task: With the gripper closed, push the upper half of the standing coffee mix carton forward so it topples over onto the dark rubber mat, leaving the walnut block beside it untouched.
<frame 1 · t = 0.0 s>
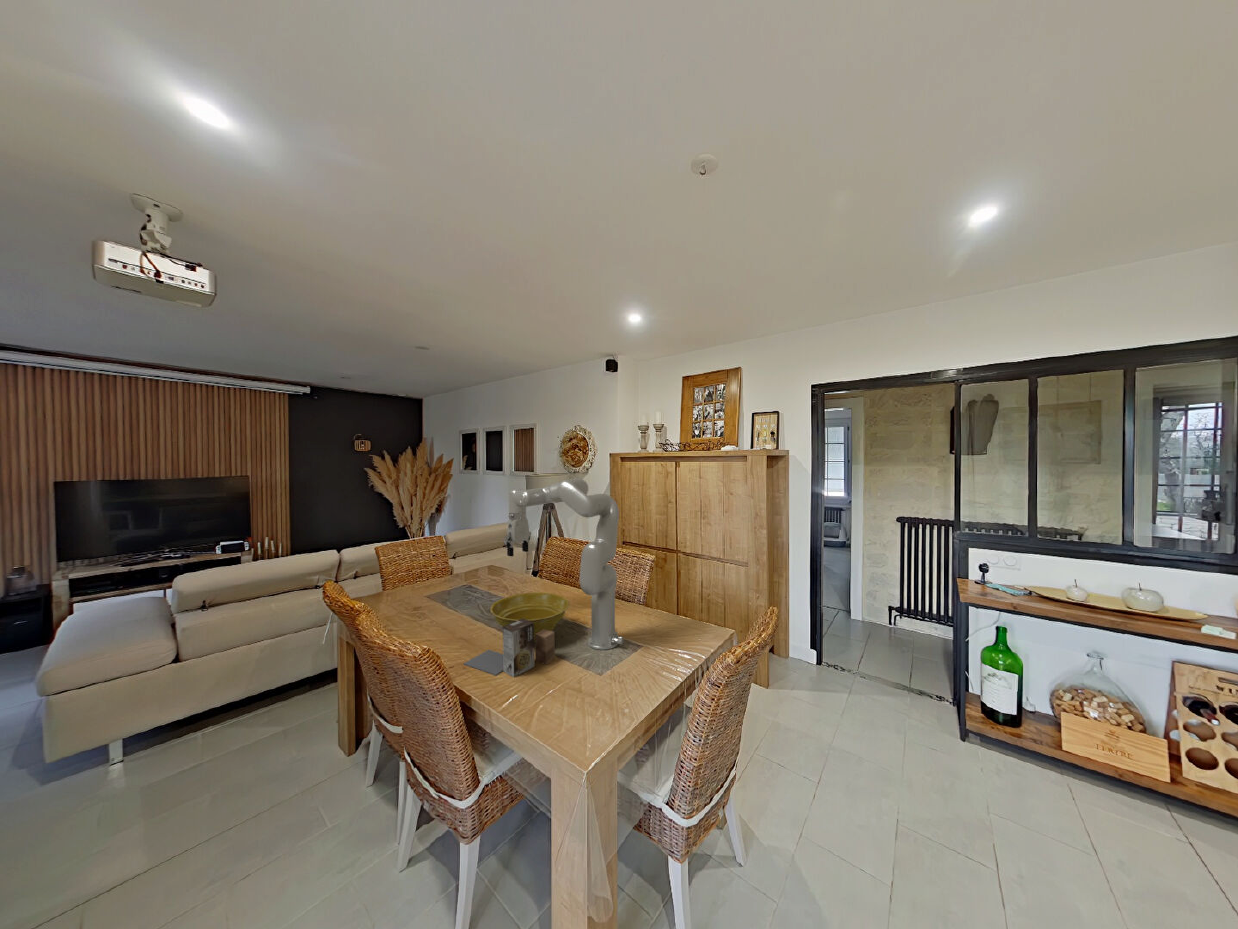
hand: (518, 553, 184), 31 cm above the table, fingers open, 9 cm apart
mat: (492, 662, 147), on the table
planter bowl: (530, 636, 169), on the table
walnut block: (545, 660, 149), on the table
coffee box: (518, 669, 143), on the table
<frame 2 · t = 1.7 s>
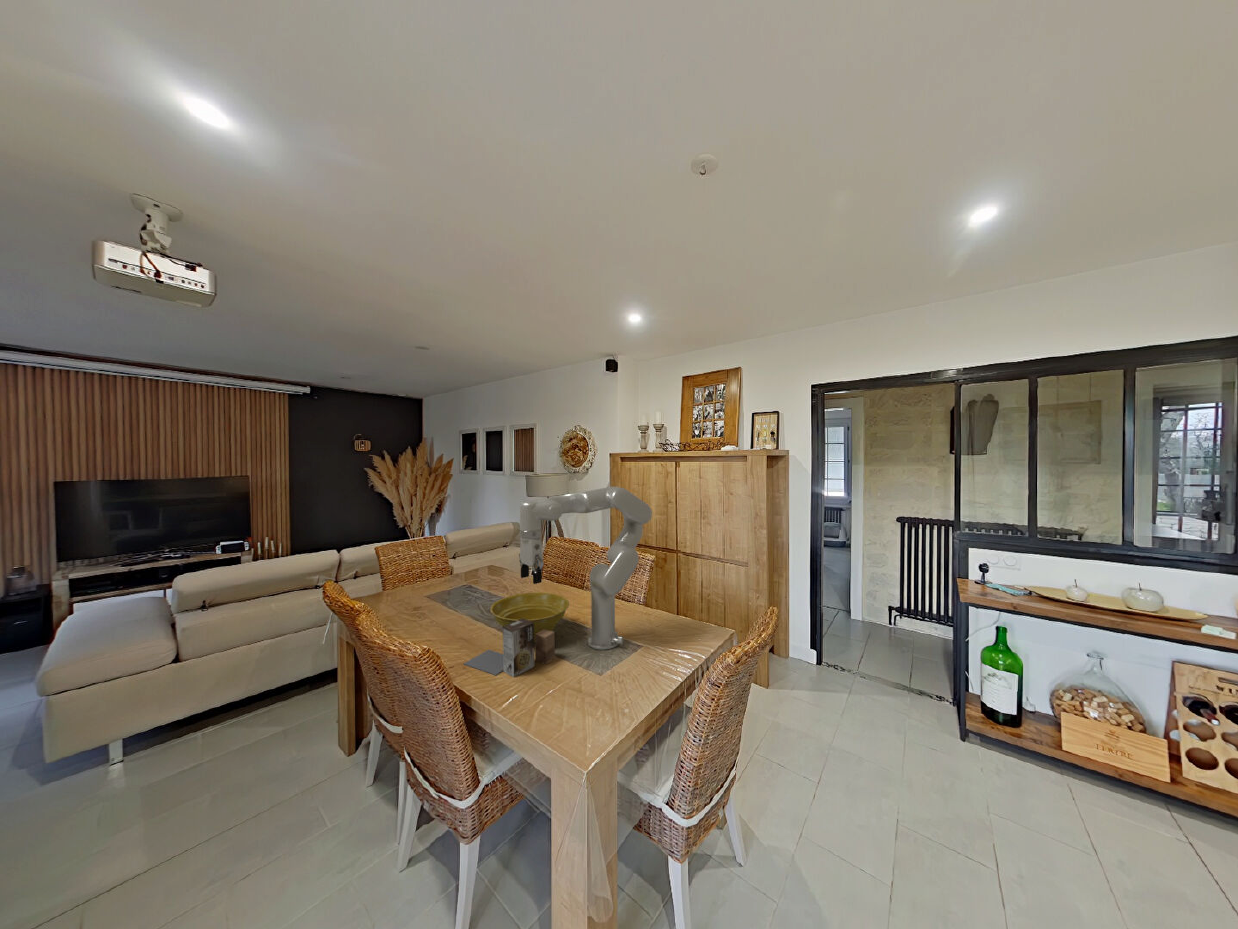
hand: (530, 580, 151), 29 cm above the table, fingers open, 9 cm apart
nothing on the table moved.
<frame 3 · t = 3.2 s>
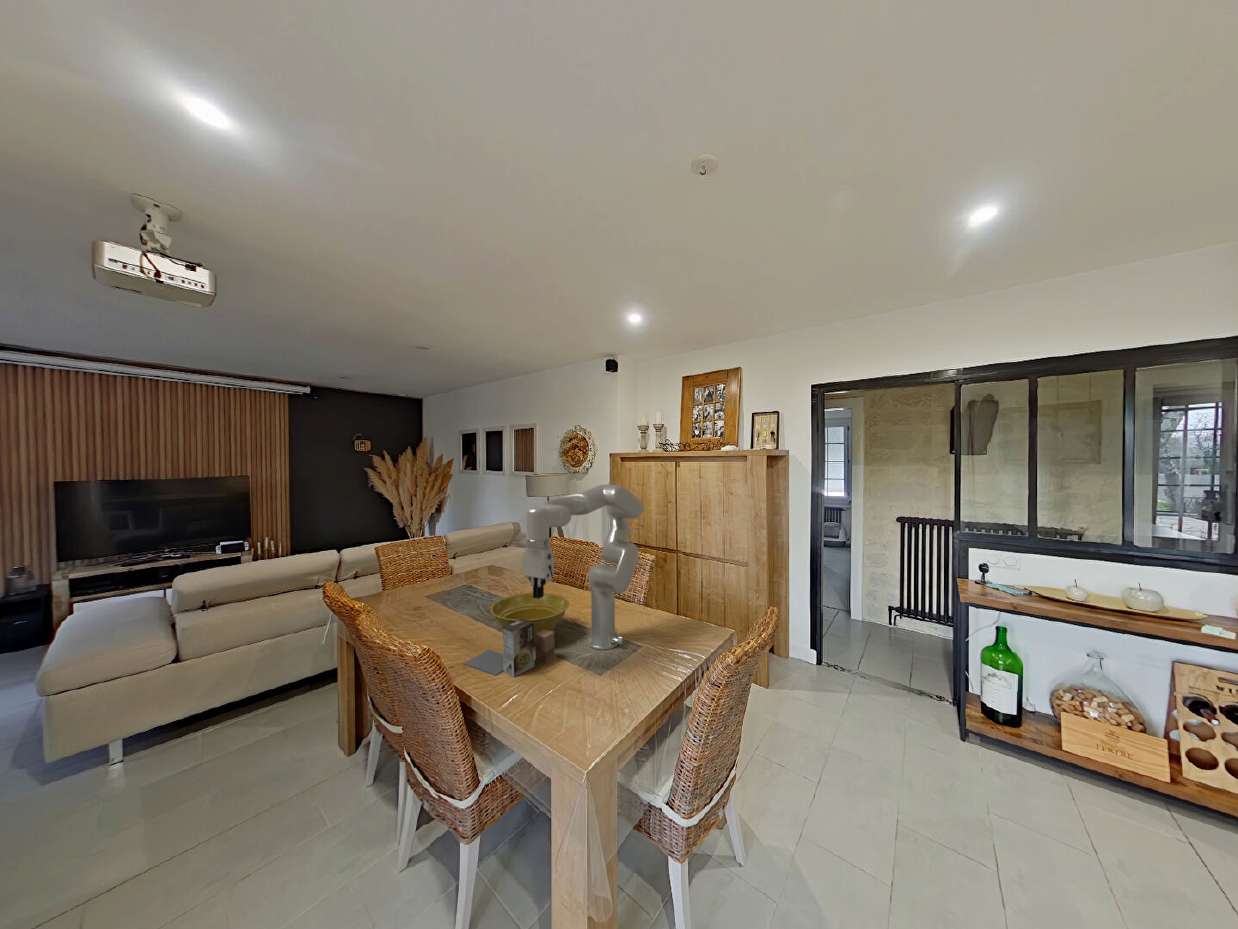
hand: (538, 597, 138), 27 cm above the table, fingers closed
nothing on the table moved.
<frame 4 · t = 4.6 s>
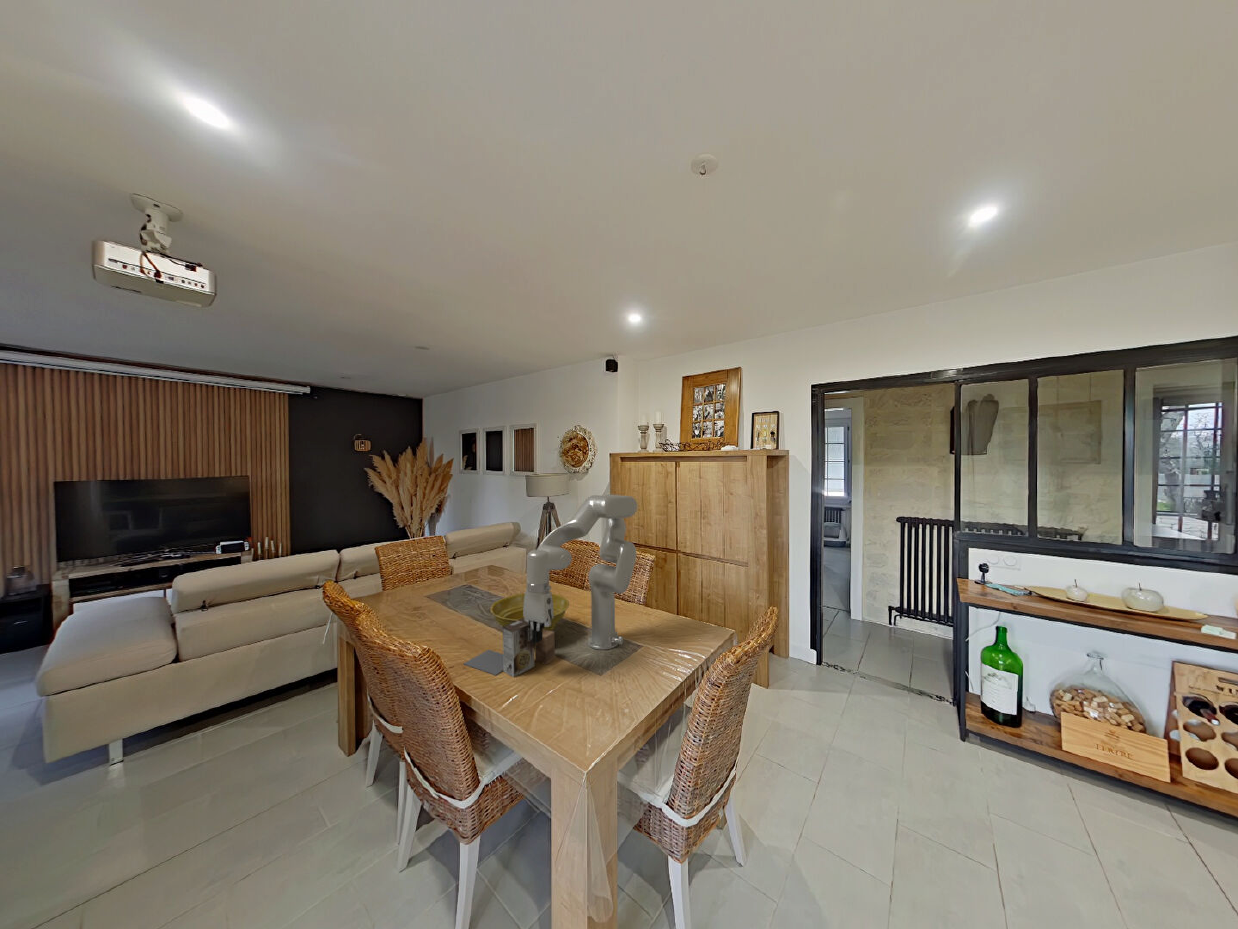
hand: (537, 640, 138), 12 cm above the table, fingers closed
nothing on the table moved.
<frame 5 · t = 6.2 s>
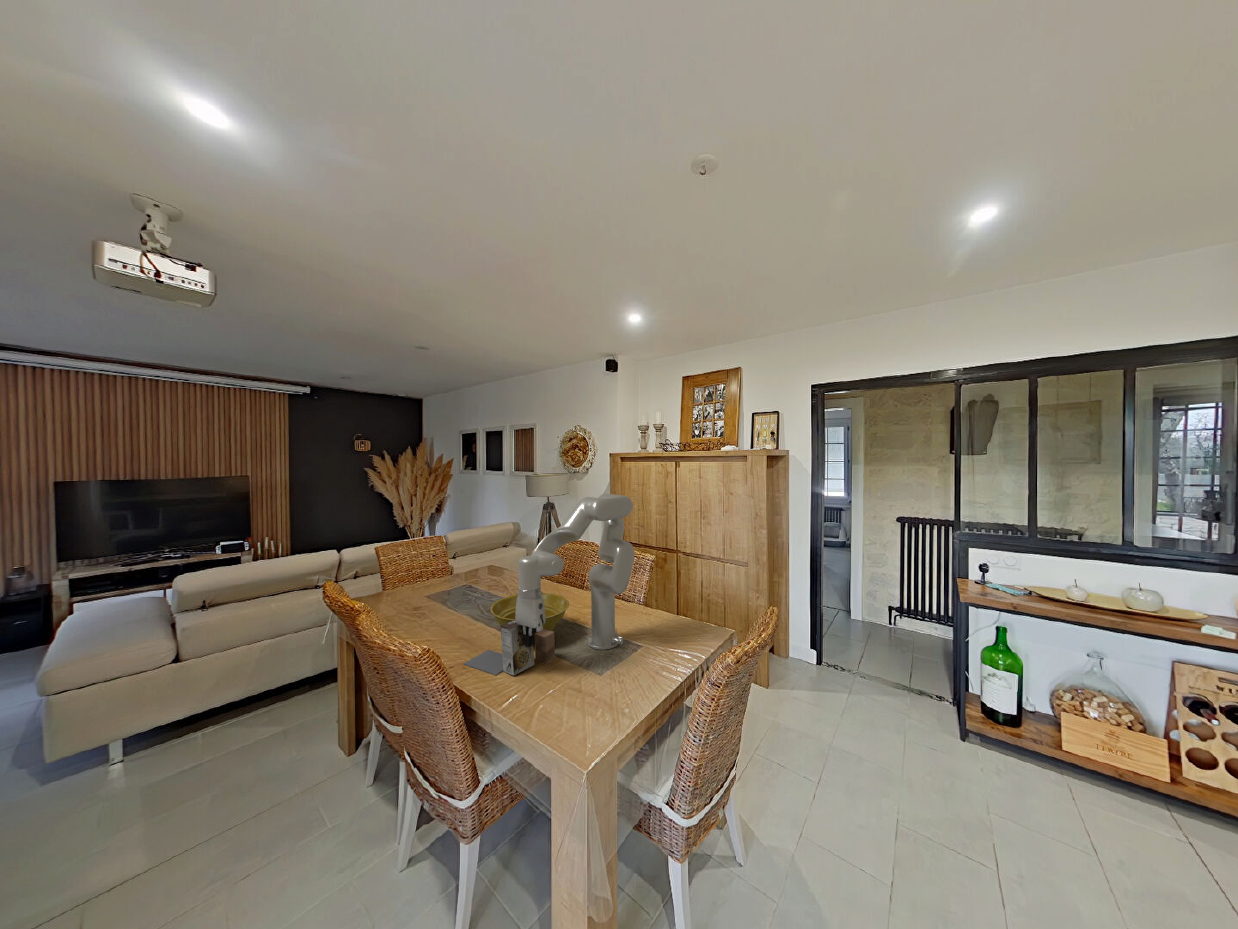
hand: (529, 645, 140), 10 cm above the table, fingers closed
coffee box: (518, 669, 143), on the table, touching gripper
everything else where it was.
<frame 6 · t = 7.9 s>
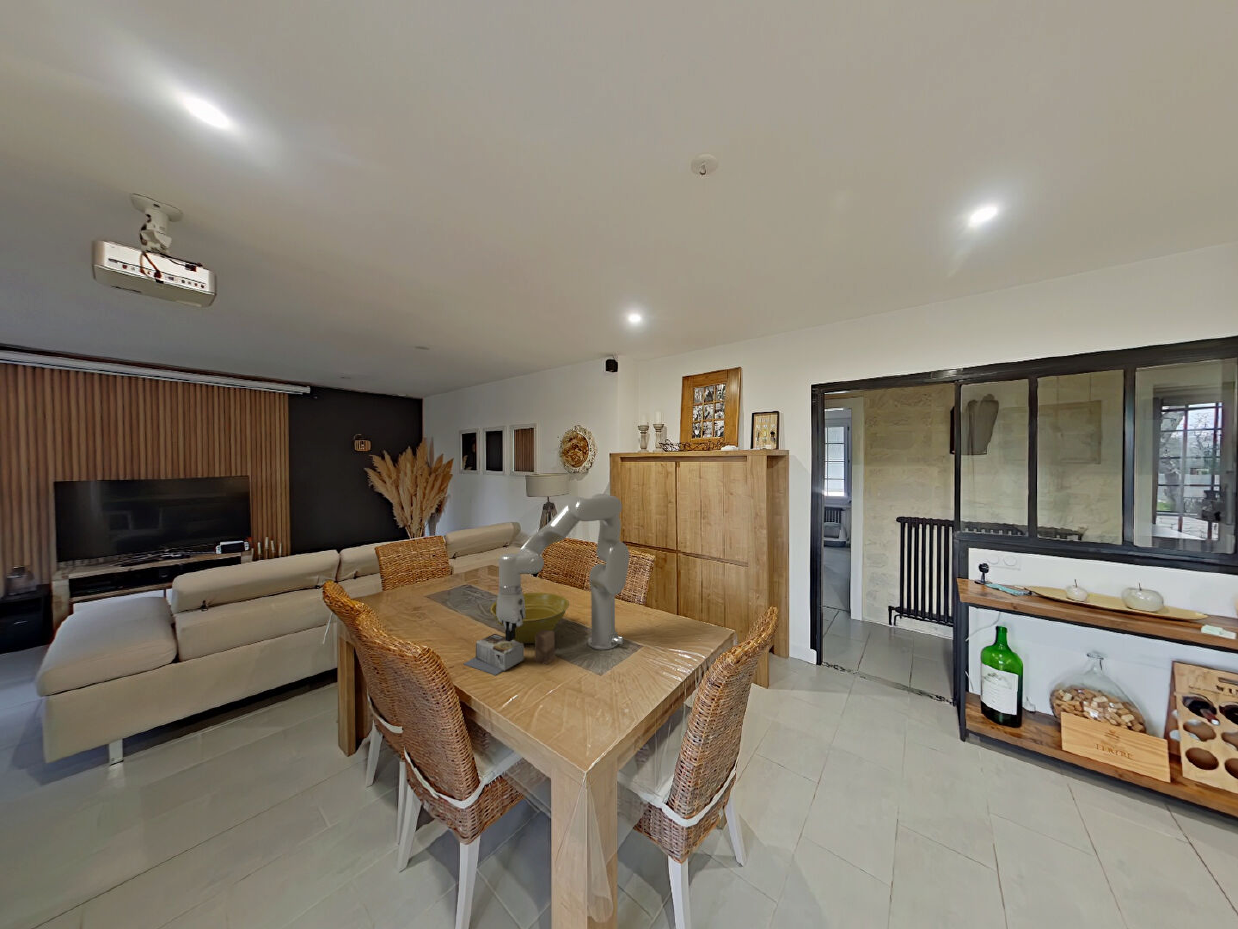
hand: (510, 639, 144), 10 cm above the table, fingers closed
coffee box: (514, 657, 144), point 4 cm above the table, touching mat
everything else where it was.
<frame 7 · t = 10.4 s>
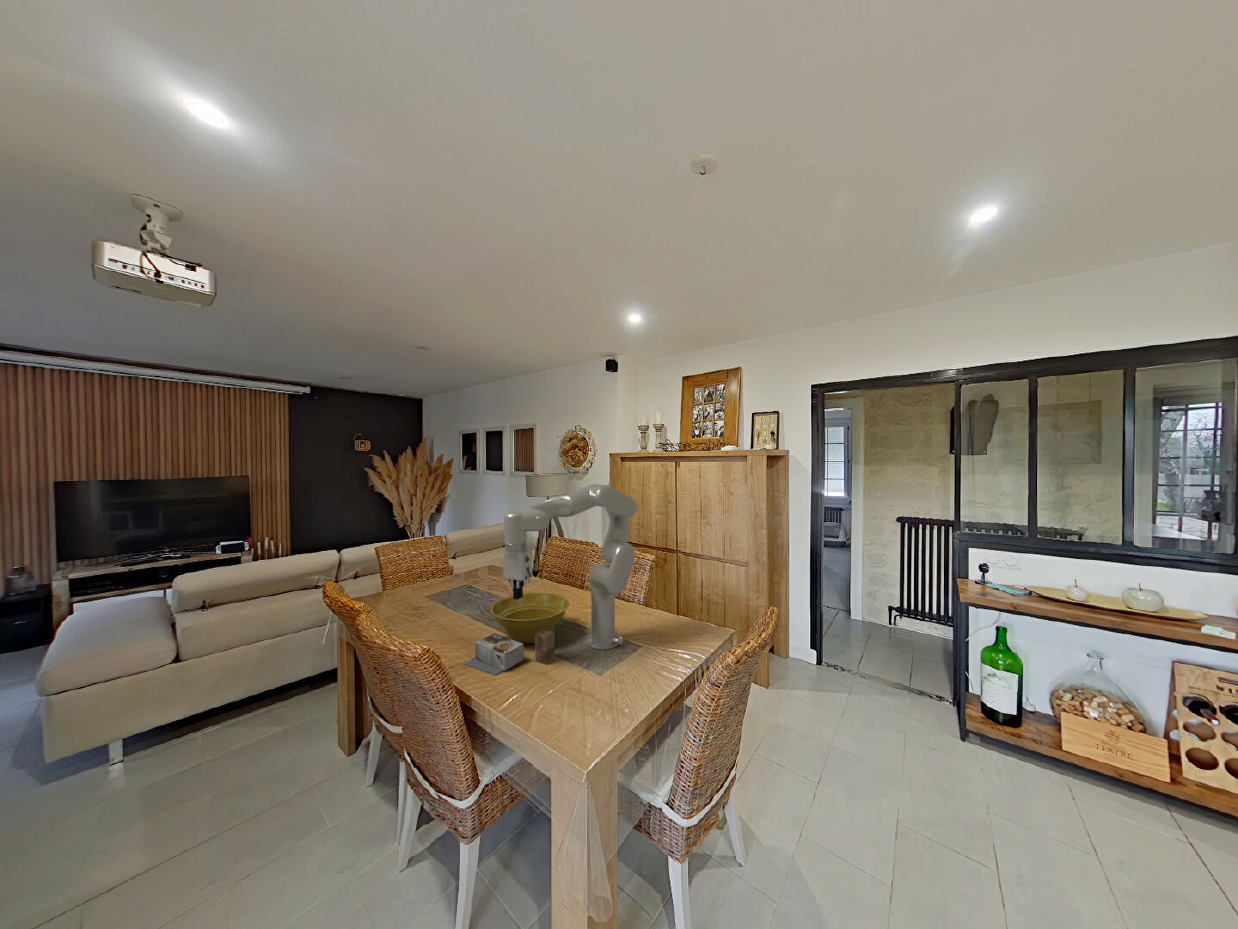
hand: (518, 598, 143), 25 cm above the table, fingers closed
nothing on the table moved.
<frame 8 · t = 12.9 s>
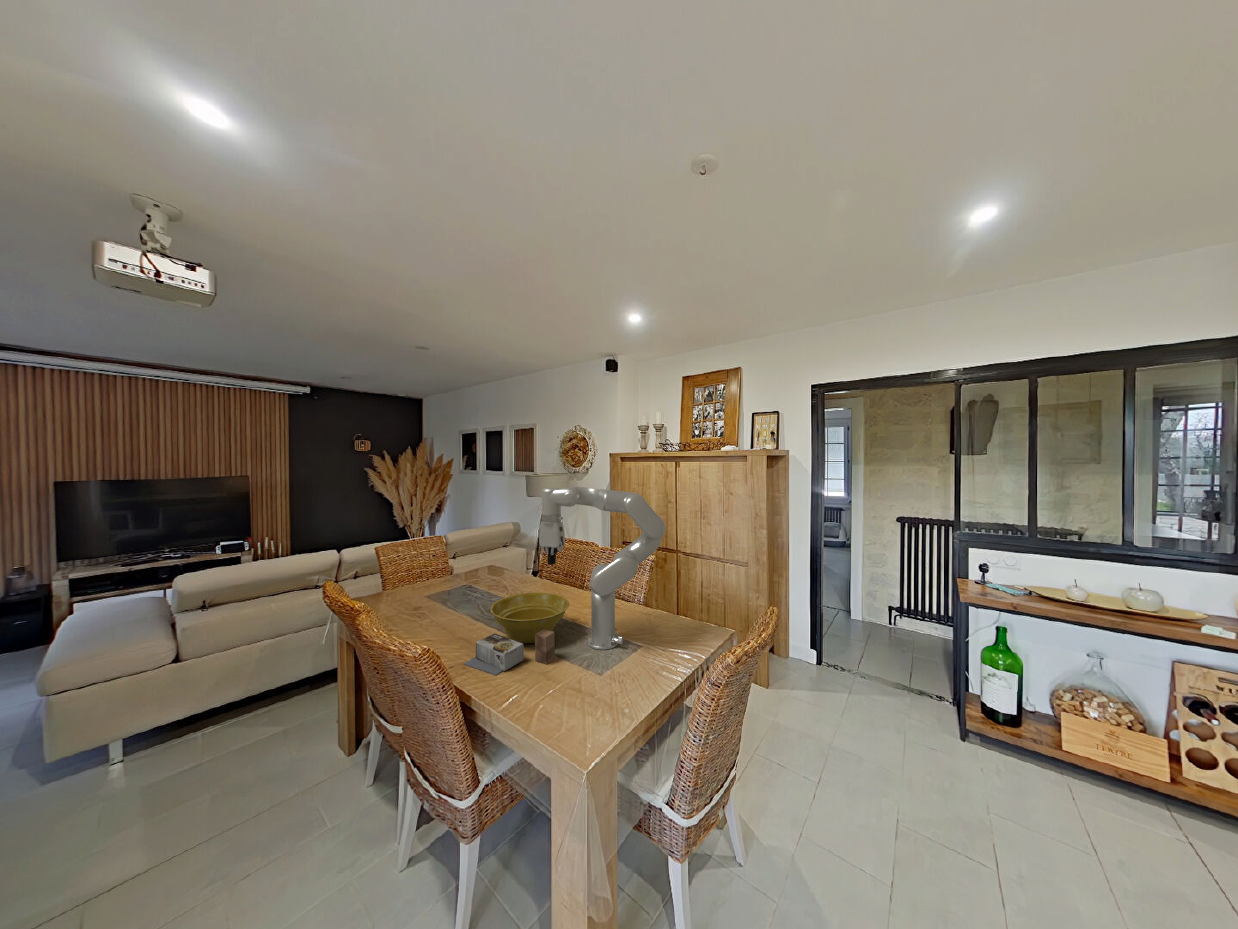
hand: (551, 564, 162), 32 cm above the table, fingers closed
nothing on the table moved.
at the end: coffee box tilted 90°; coffee box inside the target area (10.9 cm from its centre), point 3.6 cm above the table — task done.
